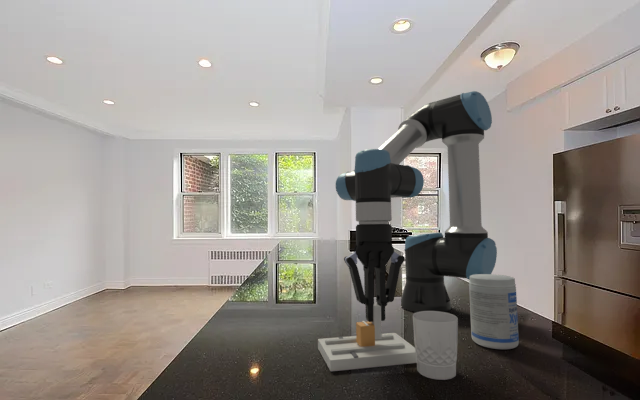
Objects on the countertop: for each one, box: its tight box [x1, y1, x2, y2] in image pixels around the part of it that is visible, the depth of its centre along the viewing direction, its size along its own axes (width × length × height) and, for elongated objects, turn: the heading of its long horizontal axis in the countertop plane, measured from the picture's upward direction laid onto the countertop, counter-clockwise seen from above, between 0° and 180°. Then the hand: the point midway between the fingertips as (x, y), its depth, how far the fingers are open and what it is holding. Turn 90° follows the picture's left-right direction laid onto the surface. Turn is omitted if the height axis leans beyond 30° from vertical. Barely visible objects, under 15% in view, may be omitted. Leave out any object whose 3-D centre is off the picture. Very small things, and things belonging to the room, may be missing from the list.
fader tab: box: [355, 320, 375, 347], centre depth 72 cm, size 3×3×4 cm
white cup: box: [412, 311, 459, 381], centre depth 64 cm, size 8×8×10 cm
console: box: [317, 332, 417, 372], centre depth 72 cm, size 18×12×3 cm, turn 102°
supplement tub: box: [468, 273, 520, 350], centre depth 79 cm, size 10×10×15 cm
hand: (375, 336), depth 73 cm, fingers closed
